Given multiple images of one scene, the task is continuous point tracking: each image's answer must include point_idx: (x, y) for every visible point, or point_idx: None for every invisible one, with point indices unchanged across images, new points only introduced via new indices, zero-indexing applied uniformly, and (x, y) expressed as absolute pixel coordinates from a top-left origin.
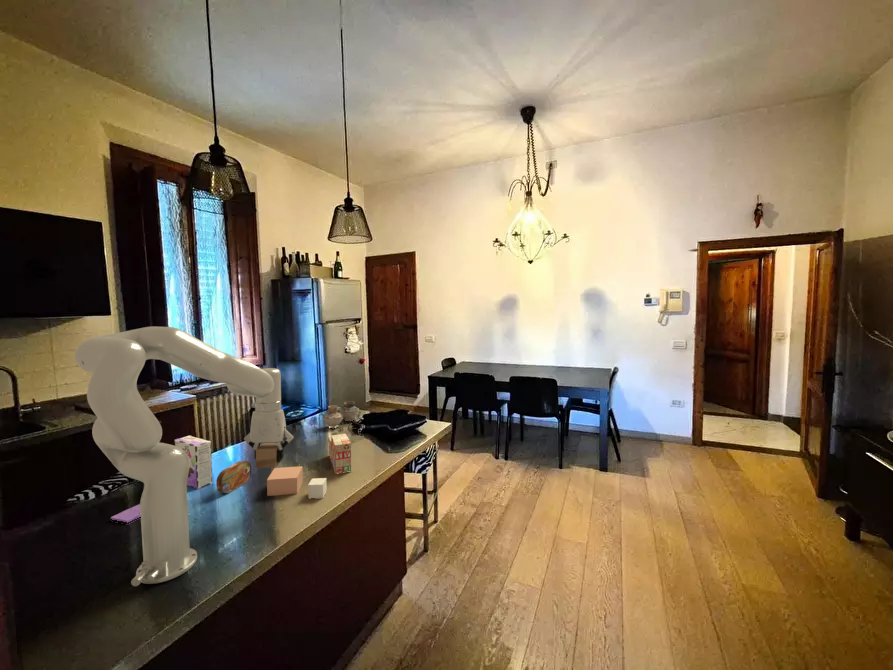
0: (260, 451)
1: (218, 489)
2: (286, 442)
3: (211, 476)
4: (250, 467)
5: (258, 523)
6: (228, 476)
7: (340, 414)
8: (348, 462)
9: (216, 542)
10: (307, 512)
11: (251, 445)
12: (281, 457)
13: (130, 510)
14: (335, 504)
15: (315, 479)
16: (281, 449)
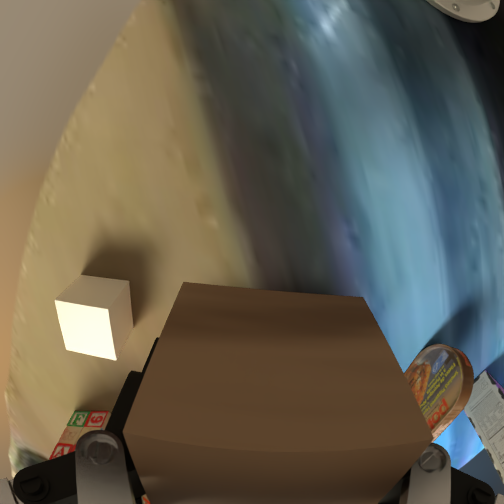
0: (364, 420)
1: (455, 348)
2: (17, 487)
3: (465, 409)
4: None
5: (272, 113)
6: (441, 393)
7: None
8: (68, 433)
9: (380, 26)
10: (101, 175)
11: (465, 484)
12: (132, 375)
13: None
14: (33, 223)
15: (99, 348)
16: (88, 432)
